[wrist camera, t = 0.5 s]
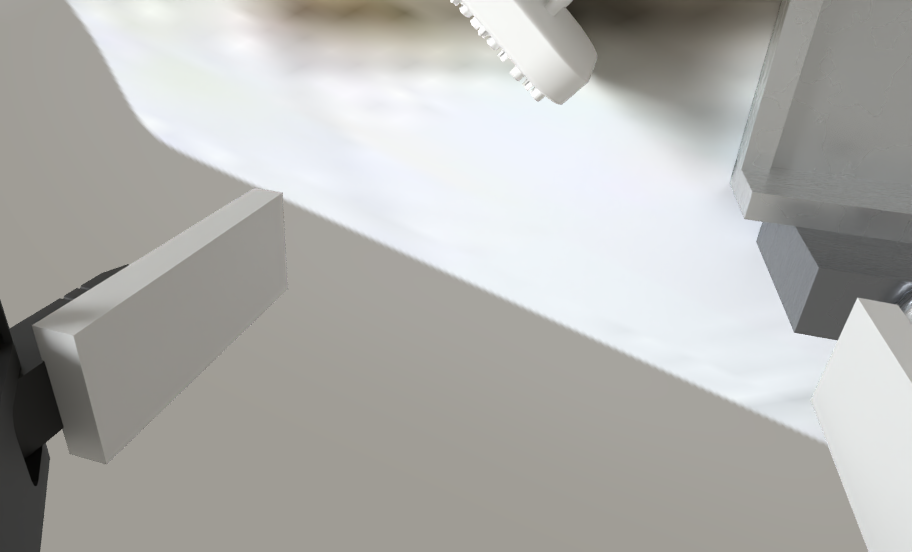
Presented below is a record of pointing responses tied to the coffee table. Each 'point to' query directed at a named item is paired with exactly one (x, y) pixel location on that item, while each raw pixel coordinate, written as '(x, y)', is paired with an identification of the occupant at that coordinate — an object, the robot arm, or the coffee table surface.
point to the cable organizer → (536, 43)
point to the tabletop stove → (833, 159)
